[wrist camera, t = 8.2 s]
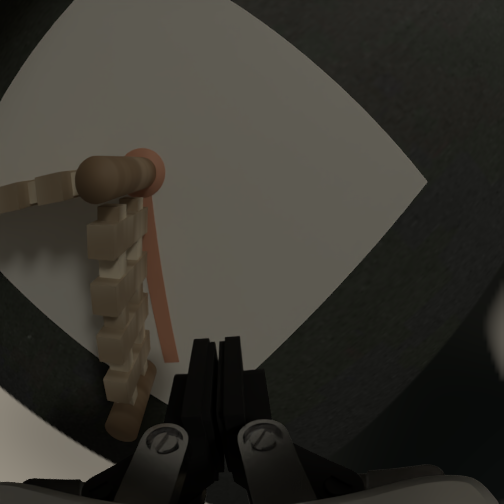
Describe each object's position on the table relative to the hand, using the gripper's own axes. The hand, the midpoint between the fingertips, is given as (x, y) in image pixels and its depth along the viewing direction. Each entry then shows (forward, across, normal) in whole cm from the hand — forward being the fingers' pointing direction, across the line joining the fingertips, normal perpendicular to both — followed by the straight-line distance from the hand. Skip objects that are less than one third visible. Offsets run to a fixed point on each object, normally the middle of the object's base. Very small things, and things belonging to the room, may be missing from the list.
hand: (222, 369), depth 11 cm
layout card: (+8, +4, -6) cm, 11 cm away
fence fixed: (+8, +10, -7) cm, 15 cm away
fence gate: (+7, +5, 0) cm, 9 cm away
